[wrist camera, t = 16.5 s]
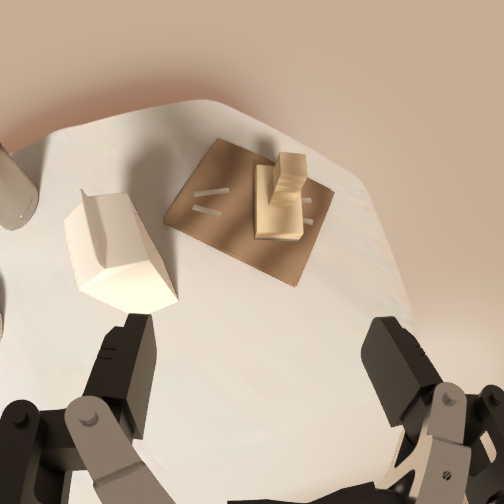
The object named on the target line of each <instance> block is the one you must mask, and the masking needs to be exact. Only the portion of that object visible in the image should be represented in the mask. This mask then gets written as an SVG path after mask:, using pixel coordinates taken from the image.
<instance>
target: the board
mask: <svg viewBox="0 0 504 504" xmlns="http://www.w3.org/2000/svg"><path fill="white" fill-rule="evenodd" d="M275 164H276V163H274V162H272V161H270V160H268V159H266V158H263V157H261V156H259V155H257V154H254V153H252V152H250V151H248V150H245V149H243V148H241V147H238V146H236V145H234V144H231V143H229V142H226V141H224V140H222V139H219V138H218V139H217V141H216V142H215V143H214V145H213V146H212V148H211V149H210V150H209V152H208V153H207V155H206V156H205V158H204V159H203V160H202V162H201V163H200V165H199V166H198V168H197V169H196V170H195V172H194V173H193V175H192V176H191V178H190V179H189V181H188V182H187V184H186V185H185V187H184V188H183V190H182V191H181V193H180V194H179V196H178V197H177V199H176V200H175V202H174V204H173V205H172V207H171V208H170V210H169V211H168V213H167V215H166V216H165V218H164V219H163V220H164V223H165V224H167V225H169V226H171V227H173V228H175V229H177V230H179V231H181V232H183V233H185V234H187V235H189V236H191V237H193V238H196V239H198V240H200V241H202V242H204V243H206V244H208V245H210V246H212V247H214V248H216V249H218V250H220V251H222V252H224V253H226V254H228V255H230V256H232V257H234V258H236V259H238V260H240V261H242V262H244V263H246V264H248V265H250V266H252V267H254V268H256V269H258V270H260V271H262V272H265V273H267V274H269V275H271V276H273V277H275V278H277V279H279V280H281V281H283V282H285V283H287V284H289V285H291V286H293V287H295V286H297V284H298V282H299V279H300V277H301V275H302V272H303V270H304V268H305V265H306V263H307V261H308V258H309V256H310V253H311V251H312V248H313V246H314V244H315V241H316V239H317V236H318V234H319V231H320V229H321V226H322V224H323V221H324V219H325V216H326V214H327V211H328V209H329V206H330V203H331V201H332V198H333V196H334V193H335V192H333V191H332V190H330V189H328V188H326V187H324V186H322V185H320V184H318V183H316V182H314V181H312V180H310V179H308V178H307V179H306V181H305V183H304V185H303V186H302V188H301V202H302V217H303V233H304V234H303V235H302V236H301V238H300V239H299V240H298V242H297V241H276V240H255V239H254V175H255V171H256V166H257V165H267V166H275Z"/></svg>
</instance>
